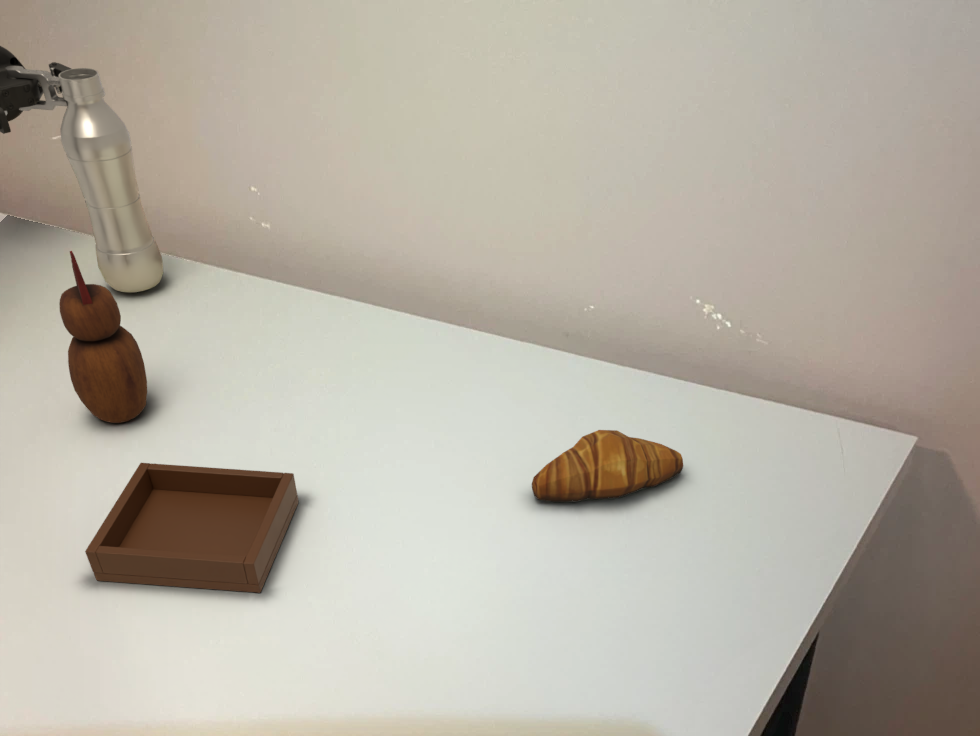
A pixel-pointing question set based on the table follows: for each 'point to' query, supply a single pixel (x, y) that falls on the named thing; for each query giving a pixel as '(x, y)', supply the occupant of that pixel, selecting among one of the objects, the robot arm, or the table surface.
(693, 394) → the table surface
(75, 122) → the silver bottle
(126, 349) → the wooden figurine
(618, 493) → the croissant
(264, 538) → the tray
